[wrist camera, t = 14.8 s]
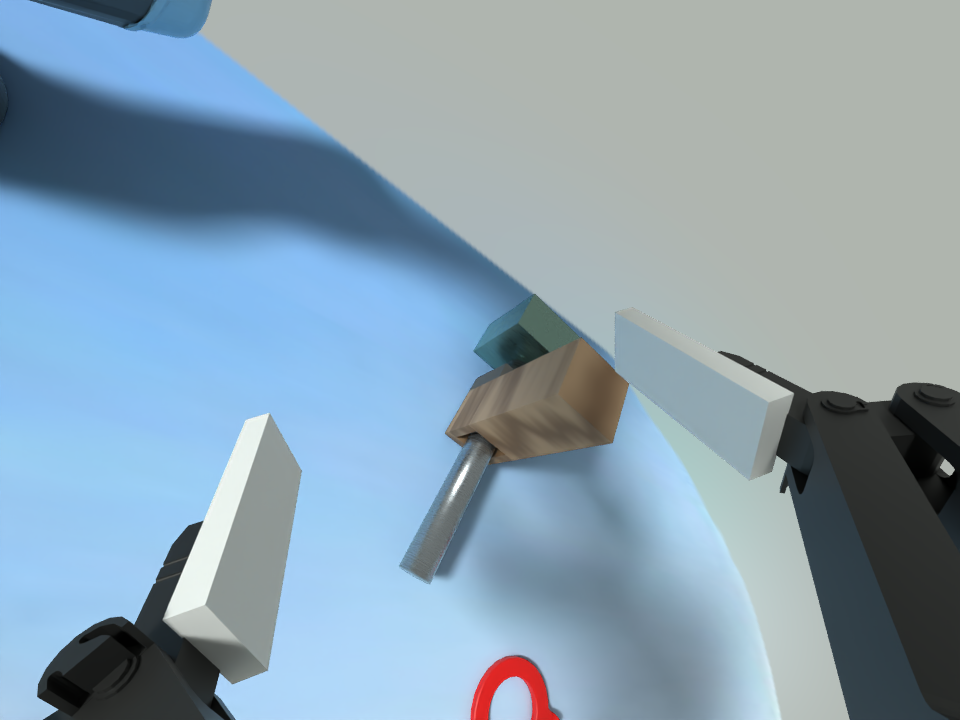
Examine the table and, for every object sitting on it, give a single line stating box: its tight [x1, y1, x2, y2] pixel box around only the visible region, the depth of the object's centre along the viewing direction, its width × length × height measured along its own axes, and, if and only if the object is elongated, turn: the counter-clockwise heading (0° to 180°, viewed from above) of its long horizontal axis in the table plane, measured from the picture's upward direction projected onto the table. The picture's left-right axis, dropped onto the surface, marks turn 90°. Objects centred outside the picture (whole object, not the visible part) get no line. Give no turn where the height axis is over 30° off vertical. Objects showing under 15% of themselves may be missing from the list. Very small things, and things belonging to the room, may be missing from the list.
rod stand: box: [399, 294, 580, 584], centre depth 40 cm, size 10×29×9 cm, turn 150°
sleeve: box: [445, 338, 629, 465], centre depth 37 cm, size 6×6×18 cm
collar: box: [470, 363, 514, 391], centre depth 44 cm, size 6×2×6 cm, turn 60°
